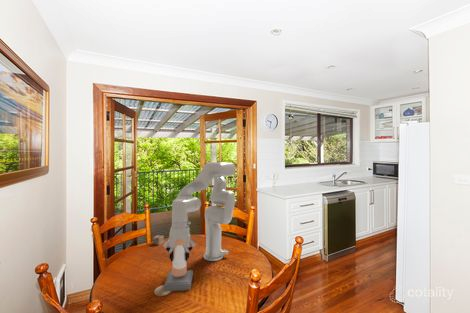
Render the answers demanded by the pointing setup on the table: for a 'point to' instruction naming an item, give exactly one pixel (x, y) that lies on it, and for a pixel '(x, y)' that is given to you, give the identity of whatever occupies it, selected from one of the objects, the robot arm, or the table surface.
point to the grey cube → (158, 240)
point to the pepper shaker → (179, 259)
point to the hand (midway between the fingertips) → (179, 259)
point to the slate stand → (178, 282)
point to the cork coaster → (161, 291)
